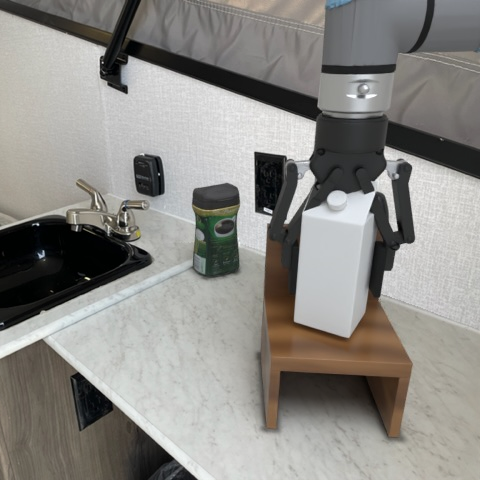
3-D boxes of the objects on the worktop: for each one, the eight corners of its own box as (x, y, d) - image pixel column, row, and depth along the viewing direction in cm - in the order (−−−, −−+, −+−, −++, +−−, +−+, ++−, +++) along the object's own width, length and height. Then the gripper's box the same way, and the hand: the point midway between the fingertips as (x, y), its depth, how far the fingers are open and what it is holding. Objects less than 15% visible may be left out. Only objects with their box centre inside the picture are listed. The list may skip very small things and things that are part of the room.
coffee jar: (225, 257, 112) (226, 177, 105) (244, 271, 105) (247, 186, 98) (187, 266, 108) (185, 184, 101) (204, 281, 101) (204, 194, 94)
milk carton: (312, 299, 70) (325, 167, 62) (365, 314, 66) (385, 174, 59) (293, 322, 64) (304, 181, 57) (348, 339, 61) (368, 190, 53)
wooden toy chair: (398, 437, 61) (429, 278, 53) (266, 428, 63) (276, 274, 55) (366, 359, 76) (387, 224, 67) (260, 353, 78) (267, 223, 70)
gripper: (252, 119, 53) (245, 302, 62) (475, 116, 50) (435, 309, 59) (249, 109, 60) (244, 275, 69) (446, 106, 57) (414, 280, 65)
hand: (332, 290), depth 64 cm, fingers closed on milk carton, 9 cm apart
